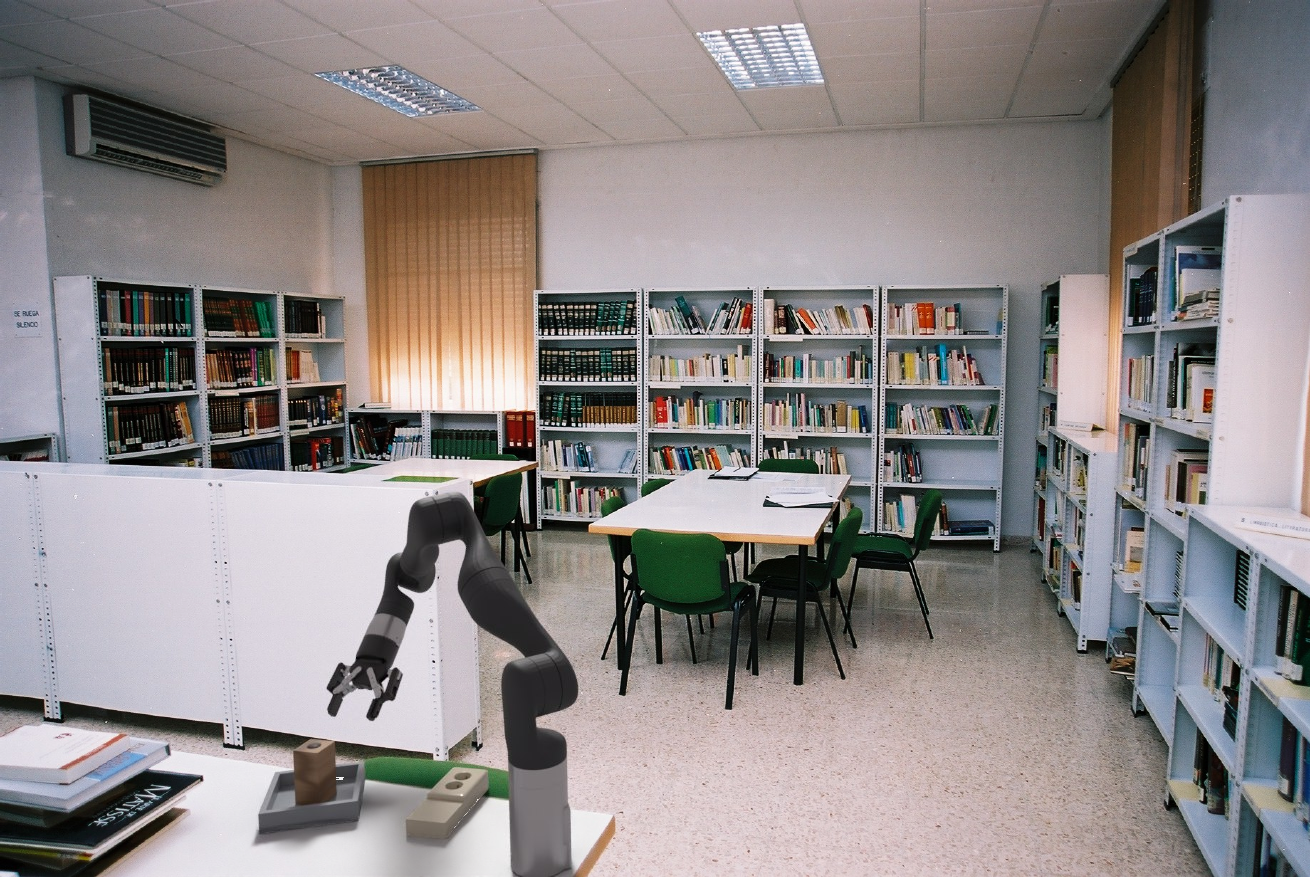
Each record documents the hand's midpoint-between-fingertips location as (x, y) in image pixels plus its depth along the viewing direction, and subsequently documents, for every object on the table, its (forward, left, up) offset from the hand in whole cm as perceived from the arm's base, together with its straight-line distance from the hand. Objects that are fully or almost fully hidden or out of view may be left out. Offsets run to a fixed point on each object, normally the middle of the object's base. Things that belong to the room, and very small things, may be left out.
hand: (350, 717), depth 163 cm
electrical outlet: (-18, +19, -12) cm, 29 cm away
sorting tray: (+6, +10, -12) cm, 16 cm away
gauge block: (+5, +10, -11) cm, 16 cm away
